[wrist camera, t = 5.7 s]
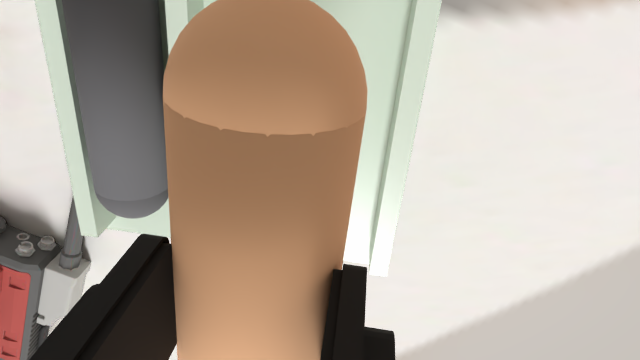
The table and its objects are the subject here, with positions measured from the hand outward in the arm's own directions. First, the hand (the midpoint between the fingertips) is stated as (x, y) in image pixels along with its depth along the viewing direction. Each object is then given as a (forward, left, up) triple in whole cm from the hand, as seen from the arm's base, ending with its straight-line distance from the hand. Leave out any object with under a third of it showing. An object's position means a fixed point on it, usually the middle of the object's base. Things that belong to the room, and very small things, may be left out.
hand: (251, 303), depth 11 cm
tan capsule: (0, 0, -1) cm, 1 cm away
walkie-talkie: (+15, -20, -17) cm, 30 cm away
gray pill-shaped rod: (0, -10, -13) cm, 16 cm away
